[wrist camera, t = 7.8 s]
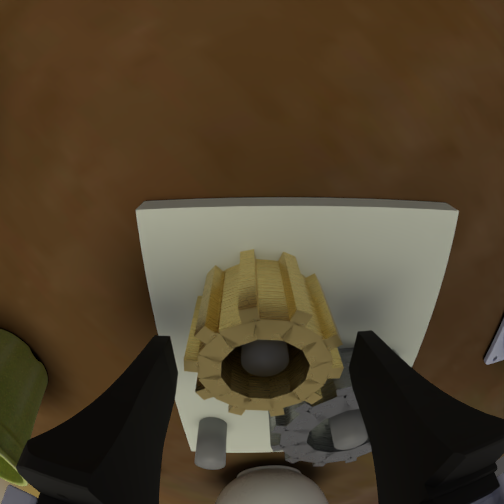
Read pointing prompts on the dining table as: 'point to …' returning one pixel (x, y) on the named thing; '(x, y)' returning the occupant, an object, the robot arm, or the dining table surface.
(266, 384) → the brass gear
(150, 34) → the dining table surface
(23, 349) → the plant pot
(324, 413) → the gear
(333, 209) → the gear board
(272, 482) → the lidded jar
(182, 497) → the dining table surface
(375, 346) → the robot arm
